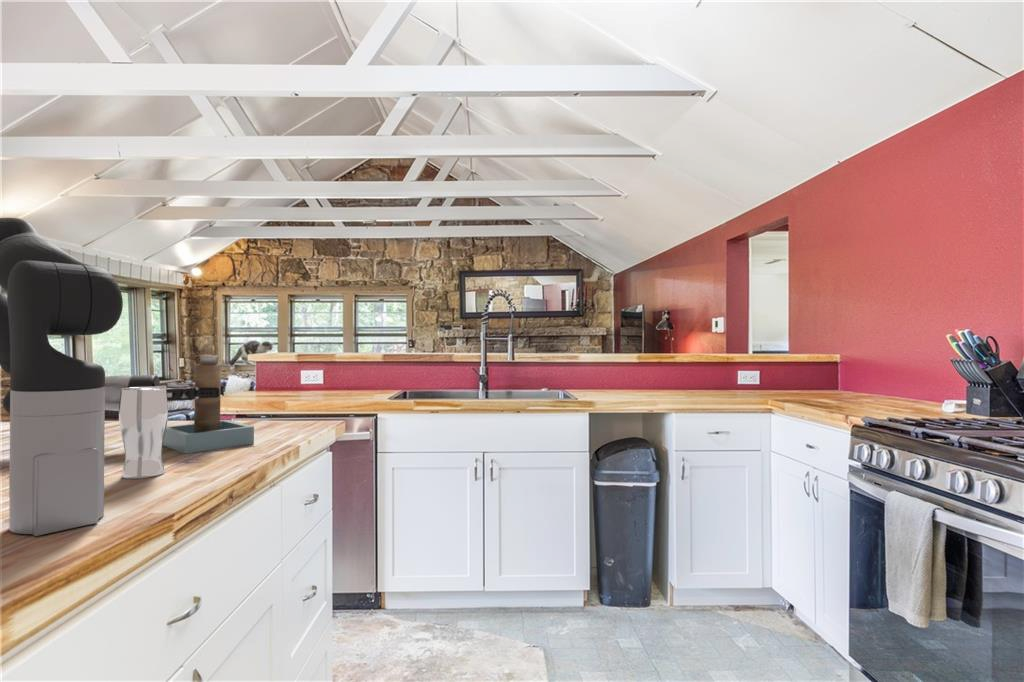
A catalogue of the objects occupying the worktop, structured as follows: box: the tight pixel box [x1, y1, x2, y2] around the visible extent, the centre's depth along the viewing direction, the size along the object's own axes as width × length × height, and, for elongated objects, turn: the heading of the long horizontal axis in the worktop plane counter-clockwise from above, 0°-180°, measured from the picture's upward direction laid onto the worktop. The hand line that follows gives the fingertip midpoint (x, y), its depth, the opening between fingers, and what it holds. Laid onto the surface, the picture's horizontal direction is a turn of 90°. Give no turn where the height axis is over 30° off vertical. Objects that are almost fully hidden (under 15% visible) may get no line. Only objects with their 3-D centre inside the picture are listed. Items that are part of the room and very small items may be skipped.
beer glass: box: [118, 386, 169, 480], centre depth 91 cm, size 7×7×15 cm
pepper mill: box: [193, 354, 222, 433], centre depth 117 cm, size 5×5×18 cm
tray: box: [162, 419, 255, 454], centre depth 117 cm, size 14×14×4 cm
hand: (220, 391), depth 118 cm, fingers closed on pepper mill, 5 cm apart
